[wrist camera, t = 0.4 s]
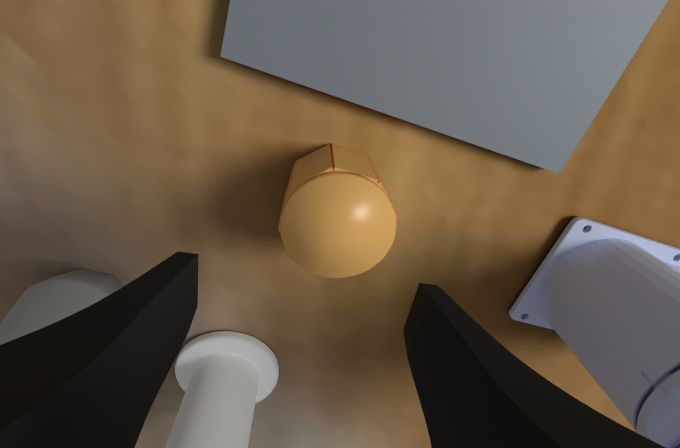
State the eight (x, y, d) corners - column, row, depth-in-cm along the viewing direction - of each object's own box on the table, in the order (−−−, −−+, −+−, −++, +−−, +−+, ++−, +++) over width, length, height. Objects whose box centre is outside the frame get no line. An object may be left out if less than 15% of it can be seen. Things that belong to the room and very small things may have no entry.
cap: (394, 163, 20) (414, 195, 16) (361, 242, 22) (371, 288, 18) (302, 134, 19) (298, 159, 15) (277, 220, 21) (268, 263, 17)
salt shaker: (23, 286, 22) (-301, 560, 10) (89, 239, 21) (-196, 489, 9) (102, 344, 24) (-92, 619, 13) (165, 304, 23) (13, 568, 12)
